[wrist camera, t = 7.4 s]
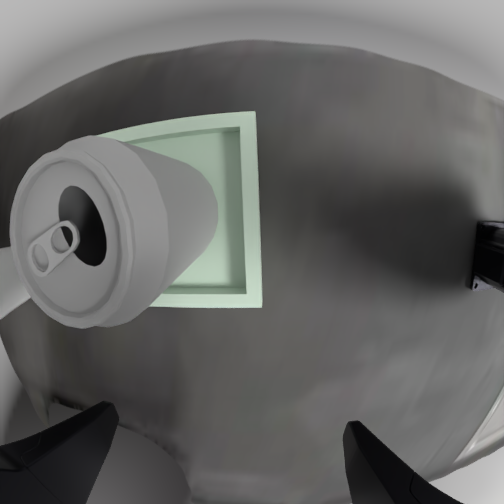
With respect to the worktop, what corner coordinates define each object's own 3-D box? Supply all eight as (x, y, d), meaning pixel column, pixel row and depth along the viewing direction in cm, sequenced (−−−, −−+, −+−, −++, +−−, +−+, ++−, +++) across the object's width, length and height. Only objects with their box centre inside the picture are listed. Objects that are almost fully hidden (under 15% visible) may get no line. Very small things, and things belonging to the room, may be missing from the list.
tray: (256, 119, 18) (254, 111, 16) (262, 296, 20) (262, 307, 18) (97, 142, 18) (84, 139, 16) (110, 294, 21) (98, 303, 19)
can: (240, 233, 19) (199, 299, 7) (155, 280, 20) (56, 366, 8) (189, 141, 18) (89, 81, 6) (110, 196, 19) (-17, 210, 7)
